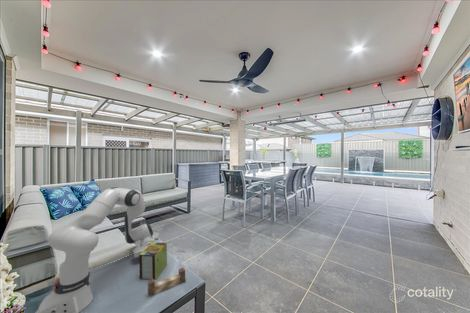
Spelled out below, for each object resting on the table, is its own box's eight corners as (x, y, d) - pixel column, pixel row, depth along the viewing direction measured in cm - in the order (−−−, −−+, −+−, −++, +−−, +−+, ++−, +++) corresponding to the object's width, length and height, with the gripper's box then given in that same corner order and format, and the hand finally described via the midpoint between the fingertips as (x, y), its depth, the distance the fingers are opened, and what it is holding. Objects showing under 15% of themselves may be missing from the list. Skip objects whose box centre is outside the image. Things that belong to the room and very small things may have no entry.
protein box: (167, 264, 124) (167, 242, 124) (155, 280, 109) (154, 255, 108) (152, 263, 125) (152, 241, 125) (139, 279, 110) (138, 254, 109)
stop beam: (148, 296, 97) (148, 284, 96) (147, 291, 100) (147, 279, 100) (185, 281, 108) (185, 270, 108) (183, 277, 111) (182, 266, 111)
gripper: (132, 245, 130) (134, 254, 118) (162, 237, 141) (166, 245, 130) (132, 253, 130) (134, 263, 118) (162, 245, 141) (166, 254, 130)
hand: (151, 254), depth 124 cm, fingers closed
